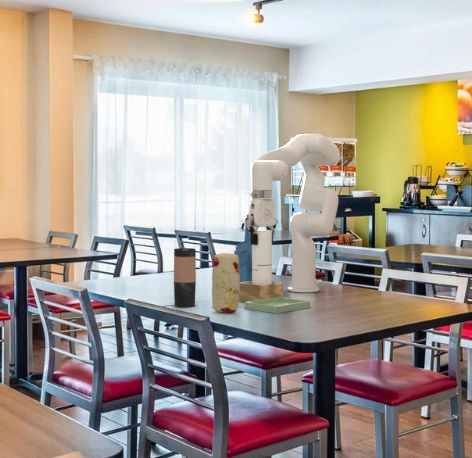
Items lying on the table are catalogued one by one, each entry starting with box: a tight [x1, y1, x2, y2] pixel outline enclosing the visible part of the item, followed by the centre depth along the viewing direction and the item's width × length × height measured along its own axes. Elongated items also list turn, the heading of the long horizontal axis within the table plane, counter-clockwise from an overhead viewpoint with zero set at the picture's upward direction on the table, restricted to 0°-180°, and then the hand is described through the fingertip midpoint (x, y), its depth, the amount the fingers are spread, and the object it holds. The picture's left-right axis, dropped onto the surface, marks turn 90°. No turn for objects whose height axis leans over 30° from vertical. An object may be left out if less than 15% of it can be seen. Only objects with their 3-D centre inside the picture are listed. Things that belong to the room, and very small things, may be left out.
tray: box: [244, 296, 311, 314], centre depth 271 cm, size 18×15×2 cm
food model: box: [211, 252, 240, 314], centre depth 261 cm, size 10×7×20 cm
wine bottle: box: [233, 213, 252, 282], centre depth 328 cm, size 14×13×30 cm
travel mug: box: [173, 247, 197, 308], centre depth 274 cm, size 8×8×20 cm
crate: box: [238, 280, 284, 304], centre depth 285 cm, size 12×12×7 cm
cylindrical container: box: [252, 229, 273, 285], centre depth 285 cm, size 7×7×25 cm
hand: (261, 243), depth 284 cm, fingers closed on cylindrical container, 7 cm apart
